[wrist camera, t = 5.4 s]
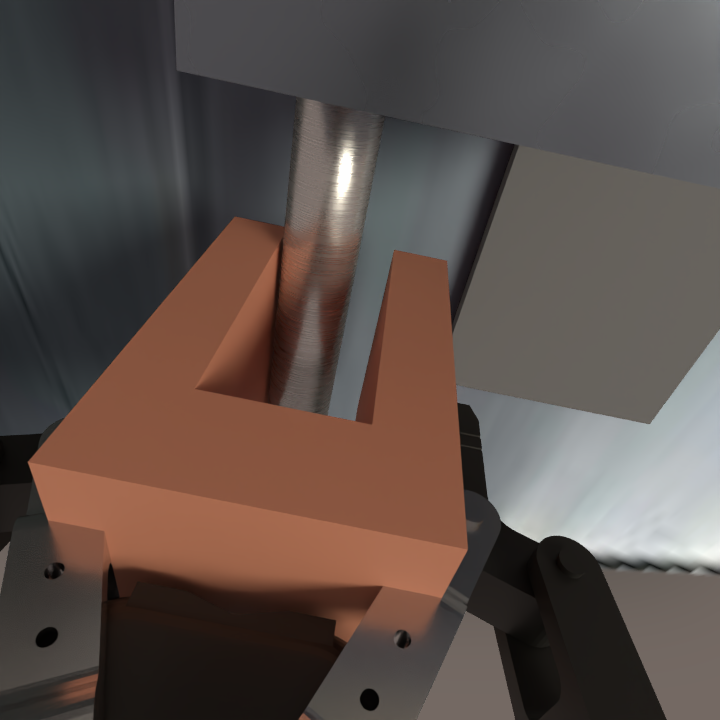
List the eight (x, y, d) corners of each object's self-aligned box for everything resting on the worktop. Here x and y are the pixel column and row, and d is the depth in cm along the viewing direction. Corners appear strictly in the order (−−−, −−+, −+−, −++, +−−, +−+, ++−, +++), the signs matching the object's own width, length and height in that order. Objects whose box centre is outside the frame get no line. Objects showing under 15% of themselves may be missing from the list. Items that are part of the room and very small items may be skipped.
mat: (839, 141, 15) (853, 146, 14) (644, 414, 21) (649, 424, 21) (538, 75, 14) (542, 78, 14) (436, 372, 21) (436, 380, 20)
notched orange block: (446, 260, 14) (468, 549, 7) (399, 415, 18) (380, 709, 10) (234, 216, 14) (27, 461, 7) (230, 380, 17) (94, 654, 10)
